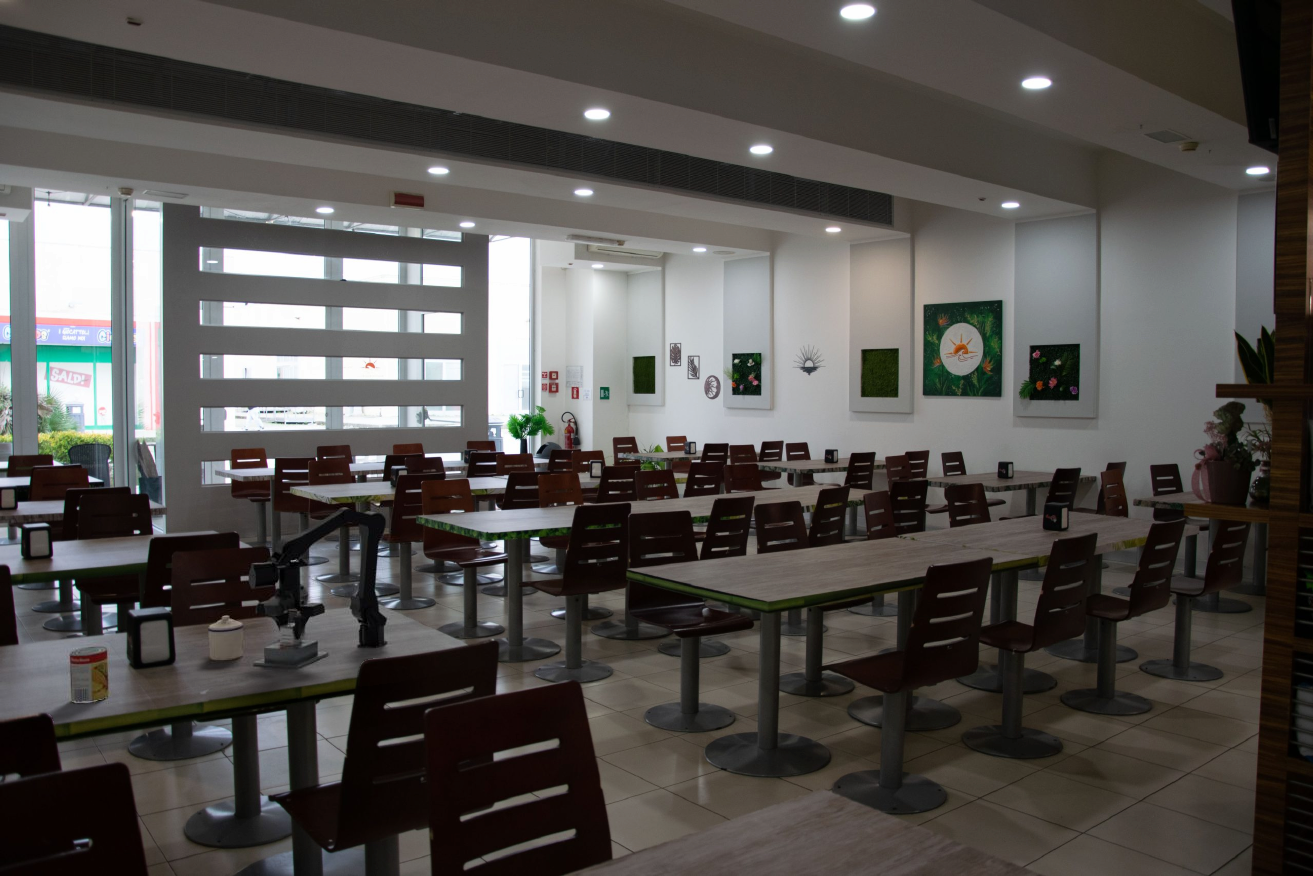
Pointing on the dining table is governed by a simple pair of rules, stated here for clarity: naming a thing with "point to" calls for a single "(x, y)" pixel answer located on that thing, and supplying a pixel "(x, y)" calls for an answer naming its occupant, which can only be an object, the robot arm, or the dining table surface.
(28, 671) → the dining table surface
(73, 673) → the canned food
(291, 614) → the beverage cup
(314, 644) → the base
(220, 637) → the teacup with lid
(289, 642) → the column
